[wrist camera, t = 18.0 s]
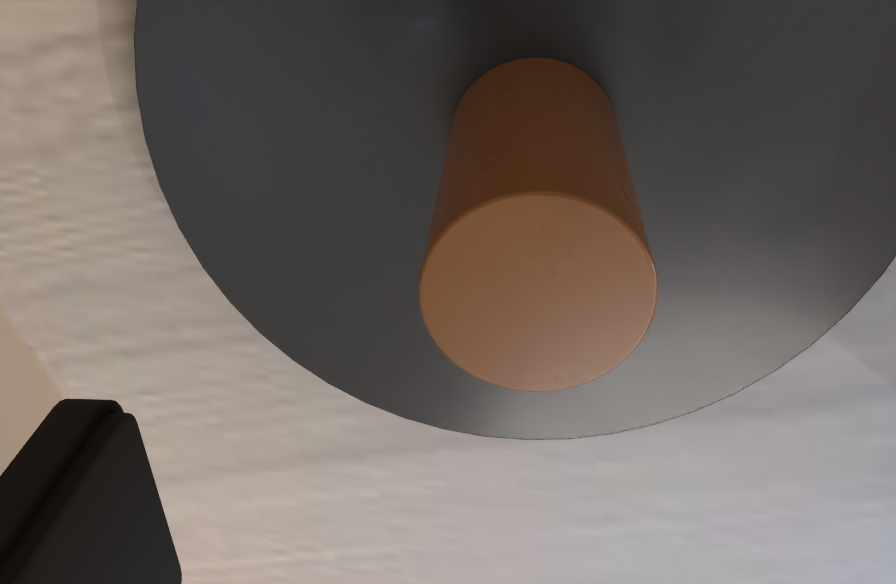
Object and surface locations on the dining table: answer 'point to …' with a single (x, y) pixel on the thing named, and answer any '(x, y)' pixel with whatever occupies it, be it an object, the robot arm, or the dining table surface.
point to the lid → (529, 192)
